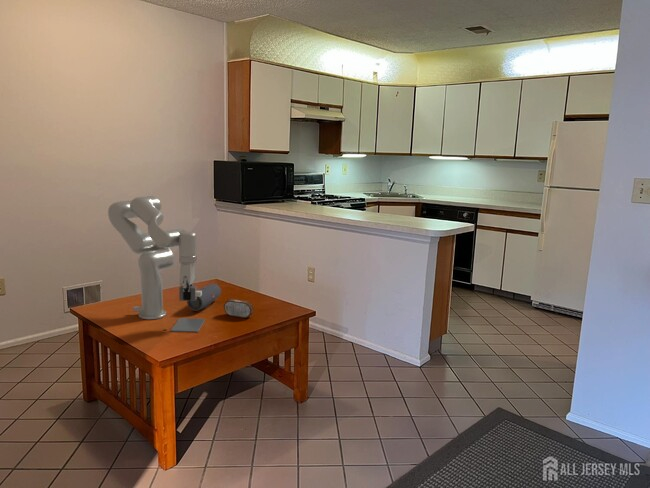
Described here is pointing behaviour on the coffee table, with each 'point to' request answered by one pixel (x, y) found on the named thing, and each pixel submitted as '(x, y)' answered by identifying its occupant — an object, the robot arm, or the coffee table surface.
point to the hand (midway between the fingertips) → (188, 298)
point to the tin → (238, 308)
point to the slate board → (187, 325)
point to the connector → (193, 293)
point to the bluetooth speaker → (205, 297)
